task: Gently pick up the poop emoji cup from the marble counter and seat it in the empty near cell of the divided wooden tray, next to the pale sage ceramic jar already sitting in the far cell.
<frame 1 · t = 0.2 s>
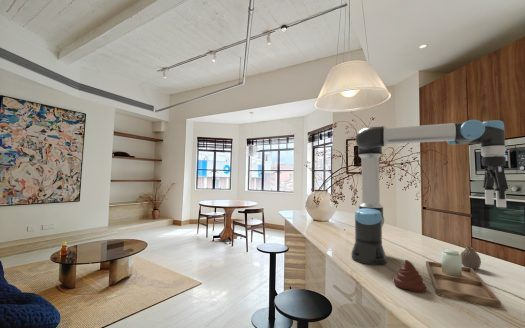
hand: (495, 205, 101), 28 cm above the table, fingers open, 13 cm apart
vase: (470, 268, 104), on the table
jar: (451, 273, 95), point 1 cm above the table, touching divided wooden tray
divided wooden tray: (455, 282, 88), on the table
poop emoji: (409, 288, 84), on the table
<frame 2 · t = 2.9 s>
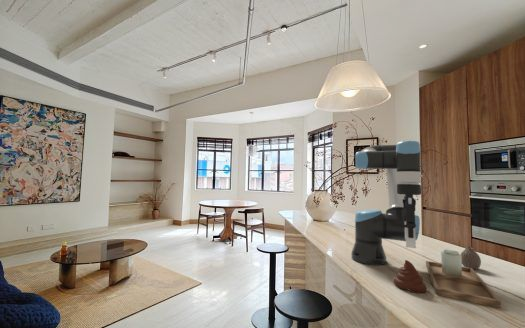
hand: (409, 243, 84), 15 cm above the table, fingers open, 13 cm apart
nothing on the table moved.
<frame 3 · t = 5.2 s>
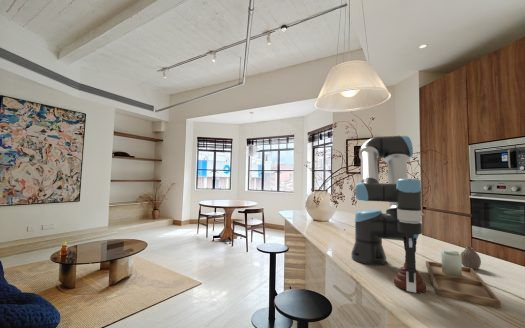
hand: (410, 285, 84), 0 cm above the table, fingers closed on poop emoji, 9 cm apart
poop emoji: (409, 287, 84), on the table, touching gripper
everything else where it was.
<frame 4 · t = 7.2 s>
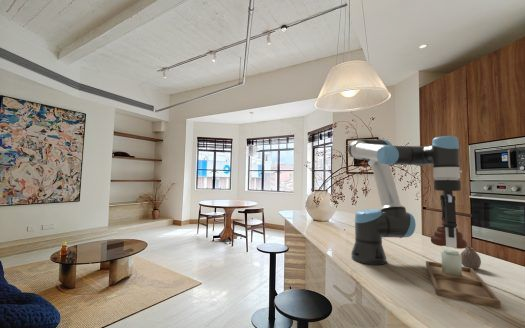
hand: (449, 244, 82), 16 cm above the table, fingers closed on poop emoji, 9 cm apart
poop emoji: (448, 246, 83), point 15 cm above the table, touching gripper
everything else where it was.
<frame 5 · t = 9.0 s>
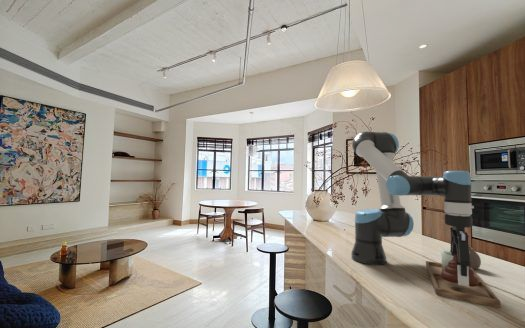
hand: (460, 279, 82), 4 cm above the table, fingers closed on poop emoji, 9 cm apart
poop emoji: (459, 282, 82), point 3 cm above the table, touching gripper
everything else where it was.
when the fingers open (4 cm above the table, at t = 9.7 s): poop emoji drops 2 cm, resting on divided wooden tray.
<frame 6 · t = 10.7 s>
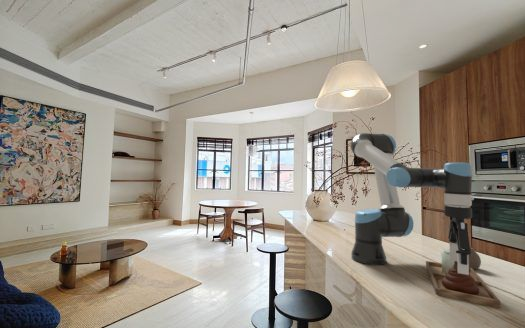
hand: (458, 266, 83), 8 cm above the table, fingers open, 13 cm apart
poop emoji: (459, 289, 82), resting on divided wooden tray
everything else where it was.
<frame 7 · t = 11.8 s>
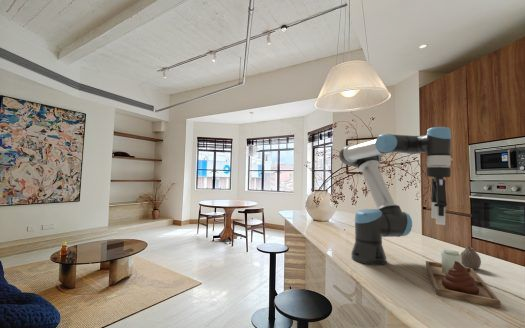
hand: (437, 221, 92), 22 cm above the table, fingers open, 13 cm apart
nothing on the table moved.
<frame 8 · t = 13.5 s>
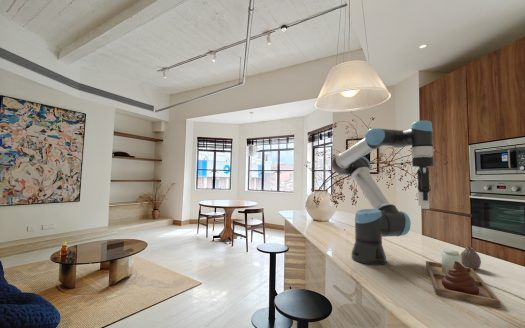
hand: (423, 207, 100), 27 cm above the table, fingers open, 13 cm apart
nothing on the table moved.
at the end: poop emoji touching divided wooden tray; poop emoji tilted 0° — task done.
